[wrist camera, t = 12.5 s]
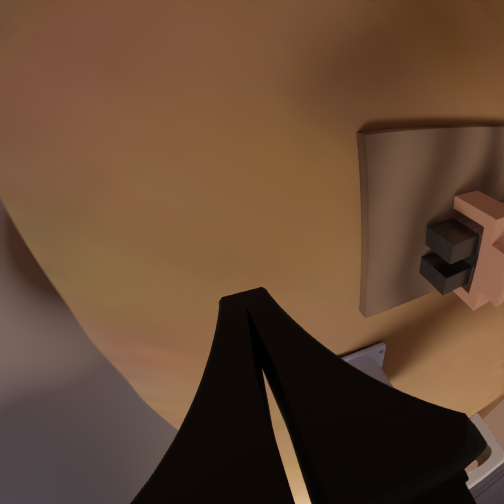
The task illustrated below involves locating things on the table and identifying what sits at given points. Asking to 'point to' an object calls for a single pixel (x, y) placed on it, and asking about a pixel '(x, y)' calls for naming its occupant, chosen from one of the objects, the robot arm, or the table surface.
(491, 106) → the table surface
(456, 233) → the tongs arm
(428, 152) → the walnut board
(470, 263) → the base
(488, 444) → the gable box
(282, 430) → the table surface
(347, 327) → the table surface
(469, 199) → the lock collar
